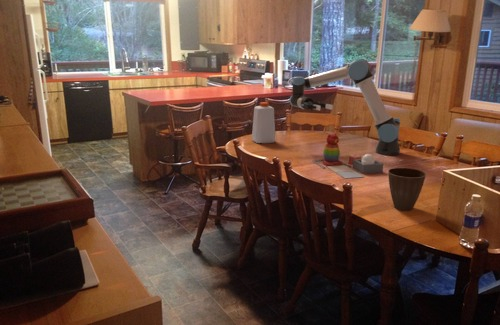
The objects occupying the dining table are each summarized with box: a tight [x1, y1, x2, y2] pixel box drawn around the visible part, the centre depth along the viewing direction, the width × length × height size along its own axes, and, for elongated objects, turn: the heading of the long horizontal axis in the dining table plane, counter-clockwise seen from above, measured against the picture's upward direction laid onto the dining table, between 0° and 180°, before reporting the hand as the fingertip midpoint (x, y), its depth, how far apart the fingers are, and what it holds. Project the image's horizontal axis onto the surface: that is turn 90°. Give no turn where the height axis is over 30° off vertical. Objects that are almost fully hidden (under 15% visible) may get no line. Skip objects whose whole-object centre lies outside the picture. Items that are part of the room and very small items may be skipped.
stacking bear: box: [322, 133, 343, 167], centre depth 249 cm, size 11×10×18 cm
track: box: [311, 158, 365, 179], centre depth 242 cm, size 17×37×1 cm, turn 15°
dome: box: [361, 153, 376, 164], centre depth 237 cm, size 7×7×8 cm
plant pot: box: [387, 167, 427, 212], centre depth 182 cm, size 15×15×16 cm
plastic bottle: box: [251, 101, 276, 144], centre depth 304 cm, size 15×15×28 cm
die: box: [347, 154, 362, 166], centre depth 250 cm, size 5×5×6 cm
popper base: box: [351, 158, 384, 175], centre depth 238 cm, size 12×12×5 cm
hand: (326, 107), depth 250 cm, fingers open, 8 cm apart
